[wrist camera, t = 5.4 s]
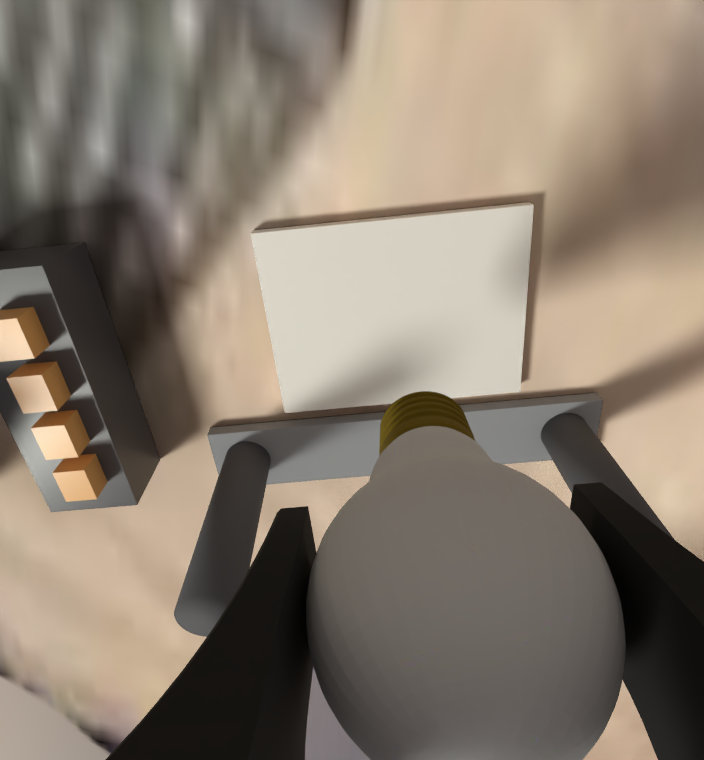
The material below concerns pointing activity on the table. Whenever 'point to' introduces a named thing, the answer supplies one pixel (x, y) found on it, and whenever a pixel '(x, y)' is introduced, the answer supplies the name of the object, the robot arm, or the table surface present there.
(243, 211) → the table surface
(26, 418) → the terminal block
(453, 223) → the mat
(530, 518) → the light bulb
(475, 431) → the cable posts
